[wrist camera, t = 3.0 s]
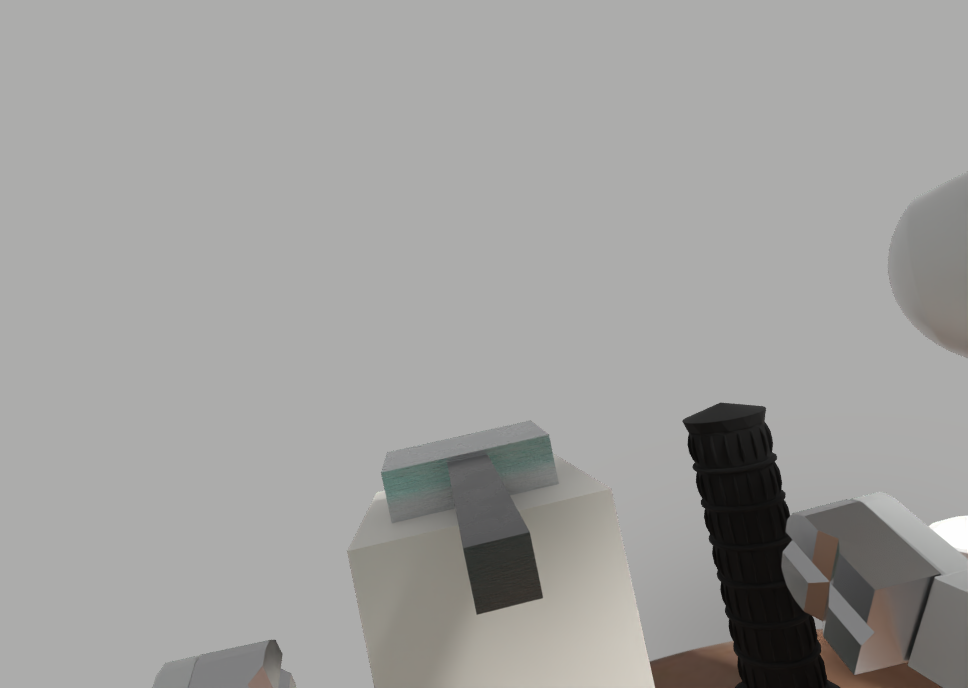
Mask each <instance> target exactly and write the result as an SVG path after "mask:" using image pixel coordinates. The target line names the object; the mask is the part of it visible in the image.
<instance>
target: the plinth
mask: <svg viewBox="0 0 968 688" xmlns="http://www.w3.org/2000/svg"><path fill="white" fill-rule="evenodd" d="M553 457H554V462H555V467H556V472H557V477H558V482H559V484H557V485H553V486H549V487H544V488H540V489H536V490H531V491H527V492H523V493H519V494H514V495H510V497H511V498H512V500H513V502H514V504H515V506H516V508H517V509H518V511H519V513H520V515H521V517H522V519H523V520H524V522H525V524H526V526H527V528H528V530H529V532H530V536H531V540H532V545H533V550H534V555H535V560H536V565H537V570H538V575H539V580H540V584H541V589H542V594H543V598H542V599H538V600H534V601H530V602H526V603H522V604H518V605H514V606H510V607H506V608H502V609H498V610H494V611H490V612H486V613H482V614H478V615H477V614H476V609H475V604H474V599H473V594H472V590H471V585H470V580H469V575H468V570H467V566H466V561H465V556H464V551H463V546H462V541H461V536H460V530H459V525H458V519H457V514H456V509H451V510H446V511H442V512H438V513H433V514H429V515H425V516H421V517H416V518H412V519H408V520H404V521H399V522H395V523H392V522H391V517H390V513H389V508H388V503H387V499H386V494H385V491H381V492H377V493H376V495H375V497H374V499H373V501H372V503H371V505H370V507H369V509H368V511H367V513H366V515H365V517H364V519H363V521H362V523H361V525H360V527H359V529H358V531H357V533H356V535H355V537H354V539H353V541H352V543H351V545H350V547H349V549H348V551H347V552H348V558H349V563H350V568H351V573H352V578H353V582H354V588H355V593H356V597H357V603H358V607H359V613H360V617H361V622H362V627H363V633H364V638H365V642H366V648H367V652H368V658H369V663H370V668H371V673H372V677H373V683H374V688H655V685H654V681H653V676H652V672H651V667H650V663H649V658H648V654H647V649H646V645H645V640H644V635H643V631H642V626H641V622H640V617H639V612H638V608H637V603H636V599H635V594H634V590H633V585H632V581H631V576H630V572H629V567H628V562H627V558H626V553H625V549H624V544H623V540H622V535H621V531H620V526H619V522H618V517H617V512H616V508H615V503H614V499H613V494H612V489H611V488H609V487H608V486H606V485H605V484H603V483H601V482H600V481H598V480H596V479H595V478H593V477H591V476H590V475H588V474H586V473H585V472H583V471H581V470H580V469H578V468H576V467H575V466H573V465H571V464H570V463H568V462H566V461H564V460H563V459H562V458H560V457H558V456H556V455H555V454H553Z"/></svg>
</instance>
